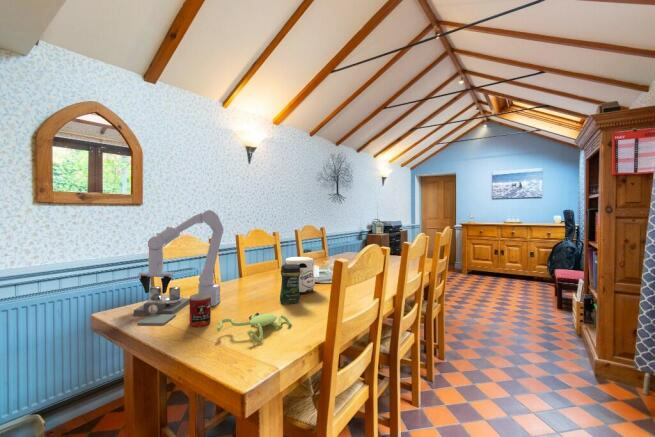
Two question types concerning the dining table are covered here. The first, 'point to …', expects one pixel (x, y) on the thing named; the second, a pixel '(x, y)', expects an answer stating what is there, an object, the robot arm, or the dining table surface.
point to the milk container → (304, 273)
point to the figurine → (257, 323)
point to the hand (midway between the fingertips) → (155, 292)
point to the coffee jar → (290, 284)
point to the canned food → (200, 309)
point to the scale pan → (165, 299)
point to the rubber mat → (157, 319)
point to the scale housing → (161, 307)
